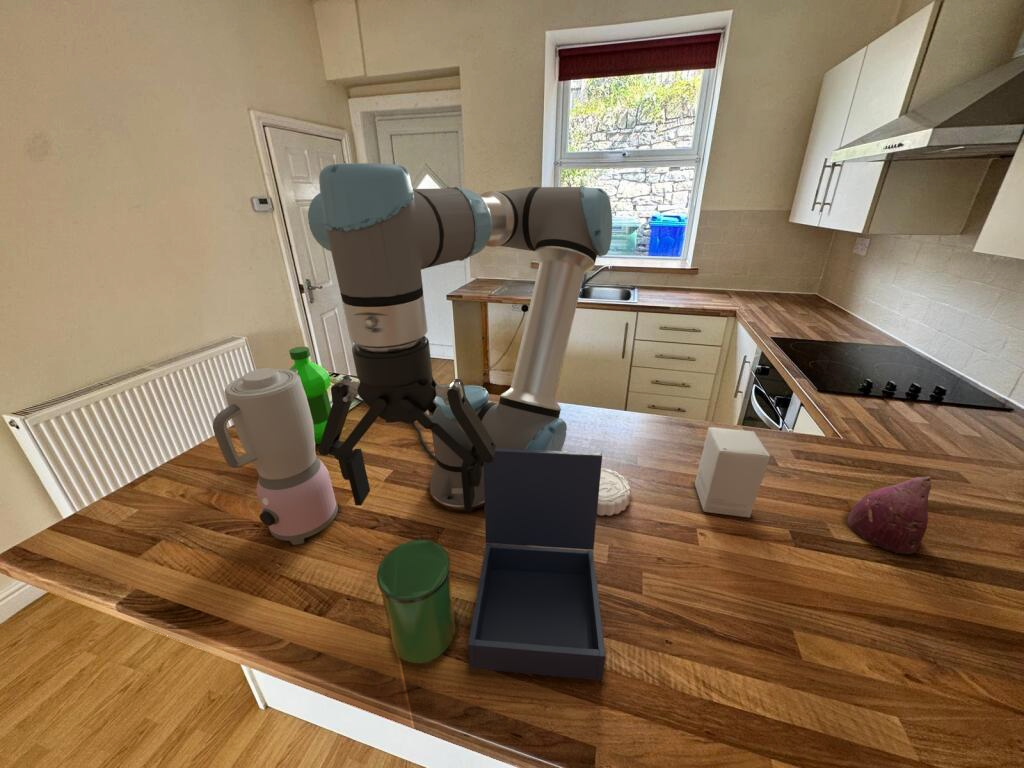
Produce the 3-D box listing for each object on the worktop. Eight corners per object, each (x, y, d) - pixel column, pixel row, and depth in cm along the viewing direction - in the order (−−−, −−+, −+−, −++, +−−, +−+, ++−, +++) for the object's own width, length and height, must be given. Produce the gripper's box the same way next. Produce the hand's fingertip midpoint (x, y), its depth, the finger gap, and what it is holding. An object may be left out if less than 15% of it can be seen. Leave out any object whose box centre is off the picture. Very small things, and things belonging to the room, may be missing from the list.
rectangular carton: (751, 519, 79) (772, 456, 72) (702, 512, 81) (719, 451, 74) (737, 488, 87) (755, 430, 80) (693, 483, 89) (708, 425, 82)
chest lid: (602, 455, 58) (601, 452, 59) (483, 450, 60) (483, 447, 61) (593, 550, 65) (592, 546, 65) (485, 543, 66) (486, 539, 67)
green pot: (386, 619, 61) (372, 553, 55) (446, 595, 64) (438, 530, 58) (398, 680, 53) (383, 612, 47) (465, 649, 57) (459, 582, 51)
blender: (307, 493, 86) (267, 355, 72) (352, 507, 82) (319, 364, 68) (239, 548, 73) (173, 392, 59) (288, 568, 69) (230, 407, 55)
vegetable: (891, 532, 80) (942, 472, 74) (922, 568, 70) (983, 503, 65) (834, 509, 82) (880, 449, 76) (857, 541, 73) (911, 476, 67)
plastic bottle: (291, 441, 105) (265, 352, 94) (328, 423, 112) (308, 339, 101) (313, 454, 99) (288, 361, 88) (350, 434, 107) (331, 347, 96)
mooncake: (631, 520, 79) (634, 506, 77) (570, 512, 81) (571, 498, 79) (626, 480, 90) (628, 467, 88) (572, 475, 91) (573, 462, 90)
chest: (601, 683, 53) (605, 656, 50) (470, 671, 54) (467, 645, 52) (590, 574, 68) (593, 550, 65) (487, 567, 69) (486, 543, 67)
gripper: (248, 350, 38) (303, 517, 47) (510, 356, 36) (513, 530, 45) (294, 325, 45) (334, 475, 54) (517, 329, 42) (518, 485, 52)
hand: (415, 500), depth 50 cm, fingers open, 13 cm apart
